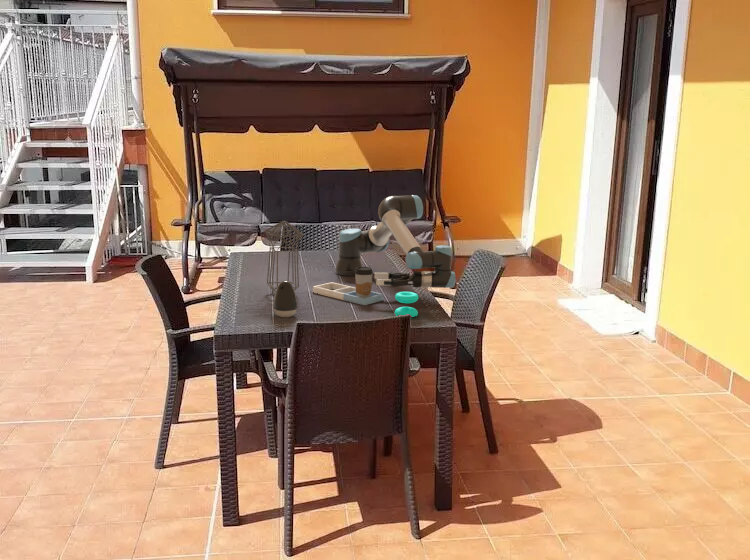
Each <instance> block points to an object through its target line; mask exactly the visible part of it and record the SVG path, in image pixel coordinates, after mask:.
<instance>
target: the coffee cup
mask: <svg viewBox="0 0 750 560" xmlns="http://www.w3.org/2000/svg"><path fill="white" fill-rule="evenodd" d="M373 272H374V271H373V268H372V267H369V266H362V267H357V268H356V270H355V276H354V277H355V288H356V296H358V297H362V298H367V297H371V291H372V285H373V274H374V273H373Z"/></svg>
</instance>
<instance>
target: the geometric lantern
mask: <svg viewBox="0 0 750 560" xmlns="http://www.w3.org/2000/svg"><path fill="white" fill-rule="evenodd" d="M288 228H289V229H288ZM281 229H282V231H281ZM285 229H286V230H285ZM263 232H264V233H265V235H266V237H267V240H268V243H269V245H271V246H269V251H268V252H269V254H268V266H267V277H266V285H267V286H268V287H269V288H270V289H271V295H272V296H274V297H275V293H276V290H277V288H278V286H279V284H280V283H281V282H282V281H279V253H288V262H287V263H288V265H287V280H286V281H288V282H290V283H291V284H292V285H294V286H293V288H294V291H296V290H297V289H298V288H299V287H300V281H299V280H300V279H299V278H300V277H299V253H298V252H299V250H298V248H297V247H298V244H297V243H298V242H300V241H301V239H302V238H303V237H304V236H305V234H304V233H303V232H301V231H300V230H299V229H298V228H296V227H295V226H294V225H292V224H291V222H290V223H289V222H288V221H286V220H282V221H280V222H278V223H276V224H275V225H273V226H271V227H269V228H267V229H265V230H264V231H263ZM292 232H294V234H295V235H294V234H293V235H291V233H292ZM279 233H280V234H279ZM281 233H282V234H281ZM286 233H287V234H286ZM273 237H276V238H275V240H274V243H273V241H272V239H273ZM285 238H289V240H288V241H287V240H286V239H285ZM291 238H293V239H291ZM278 239H279V240H281V242H282V243H281V244H280V245H279V247H278V246H277V247H275V244H276V242H277V240H278ZM293 241H294V243H293ZM289 243H290V245H291V246H290V245H289ZM283 244H286V245H287V246H282V245H283ZM295 245H296V247H295ZM284 248H285V249H288V250H282V251H281V250H279V249H284ZM275 259H276V261H275ZM290 260H291V261H290ZM275 262H276V281H274V274H275V273H274V272H275ZM290 263H292V265H291V269H292V270H291V271H292V273H291V275H292V281H289V278H290ZM274 284H276V287H274Z"/></svg>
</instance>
